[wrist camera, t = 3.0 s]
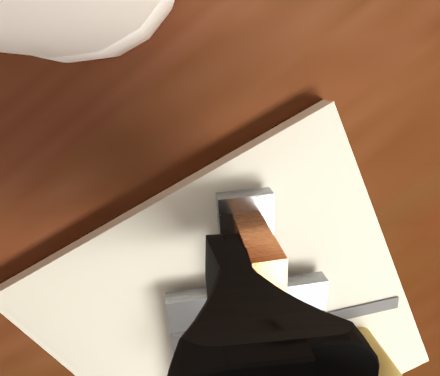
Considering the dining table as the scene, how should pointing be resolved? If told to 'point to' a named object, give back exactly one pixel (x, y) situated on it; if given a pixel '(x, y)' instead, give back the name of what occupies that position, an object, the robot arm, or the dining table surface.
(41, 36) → the bottle
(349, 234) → the base board
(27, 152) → the dining table surface
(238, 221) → the grey metal bracket
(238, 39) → the dining table surface
